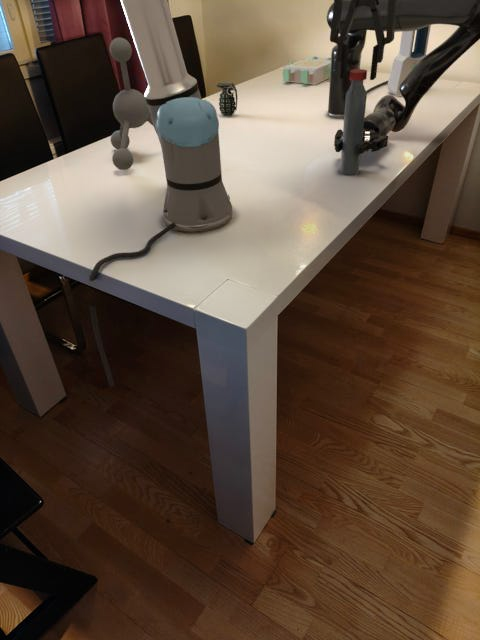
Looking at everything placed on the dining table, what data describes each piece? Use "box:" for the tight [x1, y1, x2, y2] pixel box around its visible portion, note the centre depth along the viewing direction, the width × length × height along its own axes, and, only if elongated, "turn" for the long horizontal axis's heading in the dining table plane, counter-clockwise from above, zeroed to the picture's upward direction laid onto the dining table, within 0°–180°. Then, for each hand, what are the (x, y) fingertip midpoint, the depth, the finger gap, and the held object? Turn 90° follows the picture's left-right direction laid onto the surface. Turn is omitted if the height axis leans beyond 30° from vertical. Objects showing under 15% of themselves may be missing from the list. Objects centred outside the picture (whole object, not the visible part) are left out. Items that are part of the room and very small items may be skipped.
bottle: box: [339, 80, 368, 176], centre depth 117 cm, size 5×5×23 cm
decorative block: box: [282, 56, 331, 85], centre depth 205 cm, size 26×6×20 cm
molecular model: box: [109, 37, 153, 171], centre depth 131 cm, size 24×22×30 cm
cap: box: [349, 68, 368, 81], centre depth 110 cm, size 4×4×2 cm
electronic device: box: [387, 25, 432, 97], centre depth 173 cm, size 12×8×30 cm, turn 105°
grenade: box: [215, 82, 238, 117], centre depth 166 cm, size 7×6×10 cm
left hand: (357, 77), depth 111 cm, fingers open, 6 cm apart
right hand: (347, 149), depth 119 cm, fingers closed on bottle, 4 cm apart
